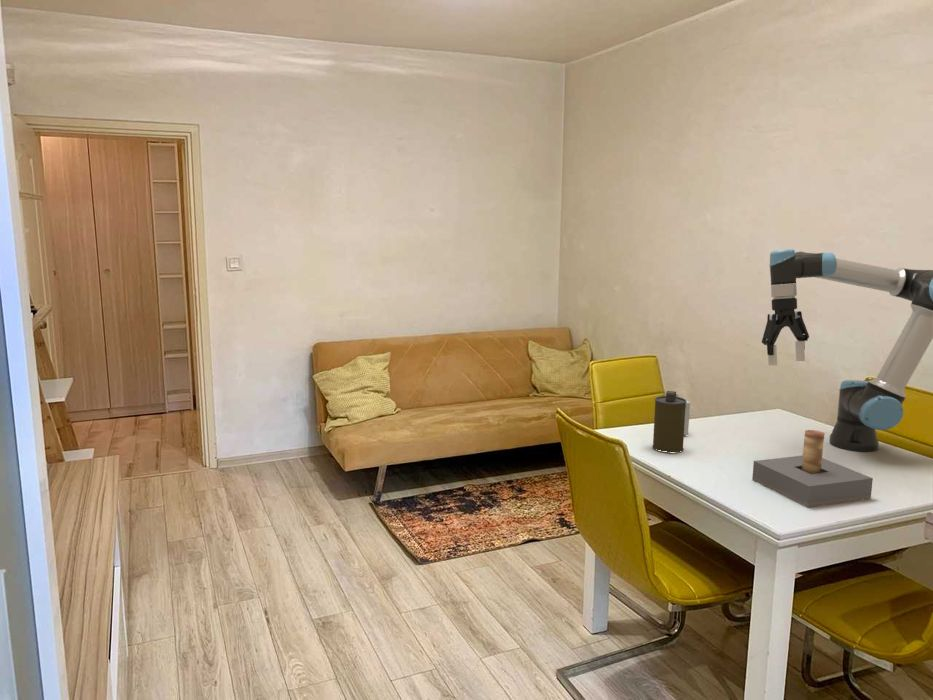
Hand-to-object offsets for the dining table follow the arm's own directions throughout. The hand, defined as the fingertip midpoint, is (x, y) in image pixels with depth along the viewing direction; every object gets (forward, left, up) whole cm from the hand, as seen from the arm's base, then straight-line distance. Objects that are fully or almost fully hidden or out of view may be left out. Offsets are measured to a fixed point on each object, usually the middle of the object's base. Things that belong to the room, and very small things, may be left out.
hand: (786, 363), depth 231 cm
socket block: (+13, +27, -32) cm, 44 cm away
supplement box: (+18, -33, -32) cm, 49 cm away
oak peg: (+13, +27, -31) cm, 43 cm away
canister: (+31, -18, -32) cm, 48 cm away
